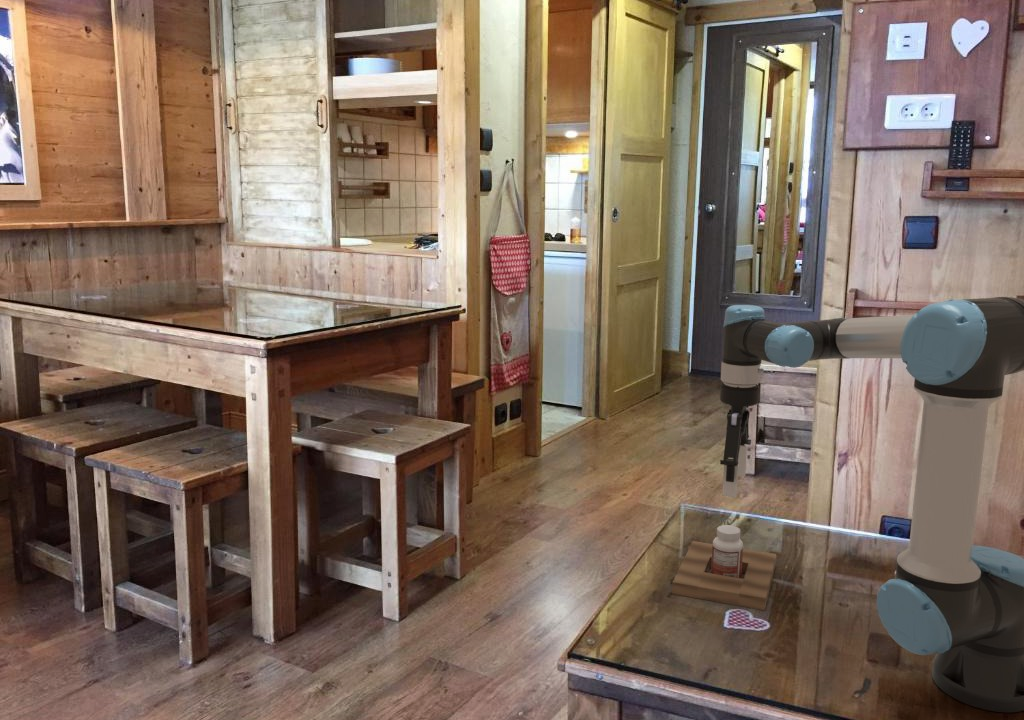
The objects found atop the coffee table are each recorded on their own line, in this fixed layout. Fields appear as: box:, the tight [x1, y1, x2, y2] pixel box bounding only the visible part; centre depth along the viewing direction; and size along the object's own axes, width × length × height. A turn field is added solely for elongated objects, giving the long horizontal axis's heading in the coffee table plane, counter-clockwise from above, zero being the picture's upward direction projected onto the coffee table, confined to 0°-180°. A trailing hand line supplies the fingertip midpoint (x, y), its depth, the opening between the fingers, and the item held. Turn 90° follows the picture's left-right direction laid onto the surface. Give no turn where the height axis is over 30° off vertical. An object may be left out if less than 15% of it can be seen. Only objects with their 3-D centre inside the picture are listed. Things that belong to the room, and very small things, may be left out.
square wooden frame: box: [671, 540, 777, 611], centre depth 182 cm, size 22×18×2 cm
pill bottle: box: [710, 524, 744, 579], centre depth 181 cm, size 6×6×11 cm
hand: (734, 485), depth 178 cm, fingers open, 13 cm apart
